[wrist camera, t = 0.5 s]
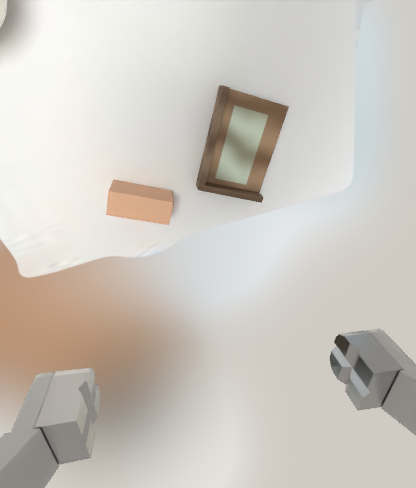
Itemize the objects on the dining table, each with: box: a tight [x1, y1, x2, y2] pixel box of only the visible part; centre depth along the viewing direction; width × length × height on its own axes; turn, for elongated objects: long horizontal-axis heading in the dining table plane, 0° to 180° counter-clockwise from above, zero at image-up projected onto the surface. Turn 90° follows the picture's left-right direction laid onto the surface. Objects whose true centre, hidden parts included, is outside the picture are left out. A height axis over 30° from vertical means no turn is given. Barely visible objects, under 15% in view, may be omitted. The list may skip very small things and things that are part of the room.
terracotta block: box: [106, 180, 174, 225], centre depth 47 cm, size 4×10×6 cm, turn 76°
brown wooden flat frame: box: [196, 86, 288, 202], centre depth 47 cm, size 16×12×3 cm
